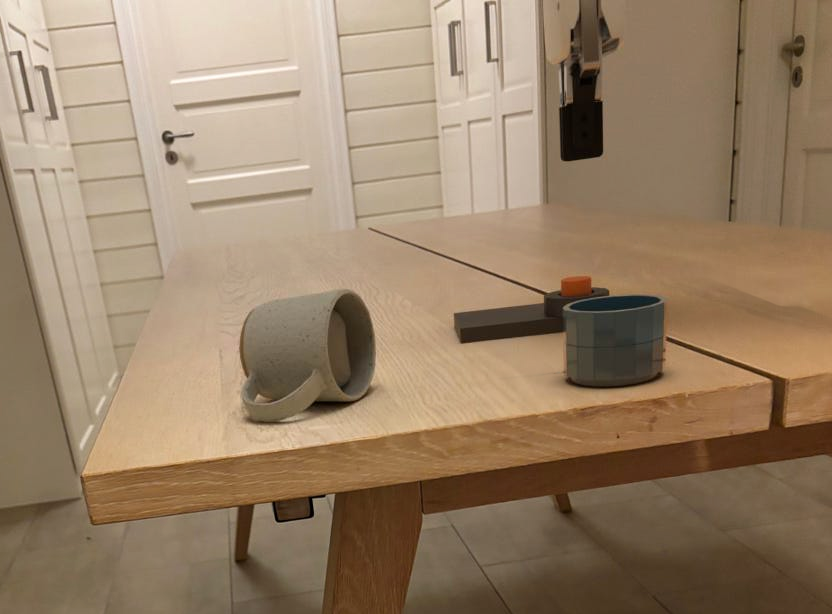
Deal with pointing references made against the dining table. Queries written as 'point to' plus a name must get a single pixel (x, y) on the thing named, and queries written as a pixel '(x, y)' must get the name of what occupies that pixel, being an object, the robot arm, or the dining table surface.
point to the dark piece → (518, 318)
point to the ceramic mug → (306, 353)
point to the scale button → (576, 286)
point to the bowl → (614, 339)
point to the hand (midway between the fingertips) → (581, 158)
